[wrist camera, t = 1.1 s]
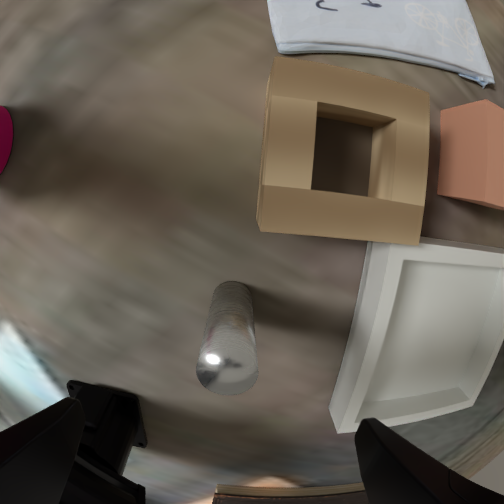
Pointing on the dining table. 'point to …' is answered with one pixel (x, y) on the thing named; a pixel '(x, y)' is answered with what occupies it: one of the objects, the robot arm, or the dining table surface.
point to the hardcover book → (291, 495)
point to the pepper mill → (5, 136)
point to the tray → (420, 332)
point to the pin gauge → (229, 342)
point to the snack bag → (384, 32)
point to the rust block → (473, 154)
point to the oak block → (342, 154)
